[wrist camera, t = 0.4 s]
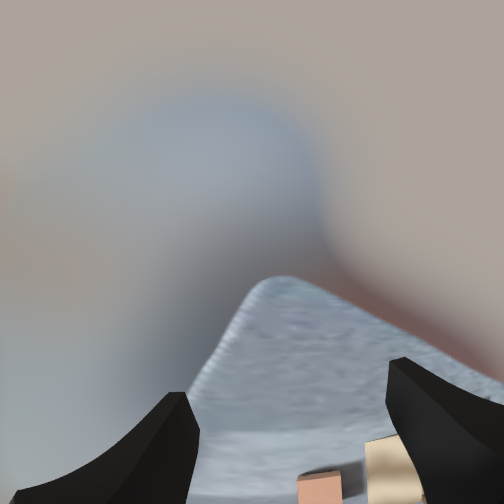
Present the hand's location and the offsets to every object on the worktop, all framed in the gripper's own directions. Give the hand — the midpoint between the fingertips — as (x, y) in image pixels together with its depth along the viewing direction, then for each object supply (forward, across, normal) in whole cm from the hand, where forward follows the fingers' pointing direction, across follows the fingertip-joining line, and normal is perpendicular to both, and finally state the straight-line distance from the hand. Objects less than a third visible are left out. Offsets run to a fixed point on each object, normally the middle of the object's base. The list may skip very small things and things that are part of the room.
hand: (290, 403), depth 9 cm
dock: (+11, -16, +28) cm, 34 cm away
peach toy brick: (+12, -2, +28) cm, 30 cm away
